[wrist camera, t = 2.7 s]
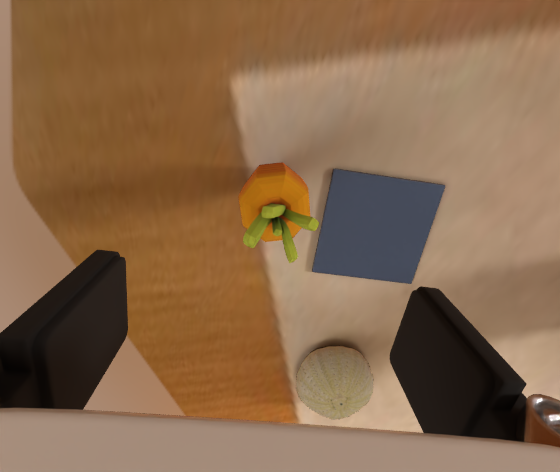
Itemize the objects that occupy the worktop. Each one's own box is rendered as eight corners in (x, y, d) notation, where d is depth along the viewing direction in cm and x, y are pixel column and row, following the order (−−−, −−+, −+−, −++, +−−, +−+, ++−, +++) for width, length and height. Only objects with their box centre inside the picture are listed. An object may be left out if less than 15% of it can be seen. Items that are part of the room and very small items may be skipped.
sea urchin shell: (377, 342, 36) (389, 424, 33) (360, 347, 43) (369, 414, 40) (295, 346, 36) (300, 429, 33) (292, 350, 43) (296, 418, 40)
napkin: (443, 184, 31) (445, 185, 31) (409, 282, 35) (411, 284, 35) (333, 168, 30) (334, 169, 30) (311, 270, 34) (312, 272, 34)
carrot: (306, 157, 30) (337, 203, 16) (290, 206, 32) (306, 286, 18) (255, 142, 29) (240, 176, 15) (241, 193, 31) (218, 264, 17)
